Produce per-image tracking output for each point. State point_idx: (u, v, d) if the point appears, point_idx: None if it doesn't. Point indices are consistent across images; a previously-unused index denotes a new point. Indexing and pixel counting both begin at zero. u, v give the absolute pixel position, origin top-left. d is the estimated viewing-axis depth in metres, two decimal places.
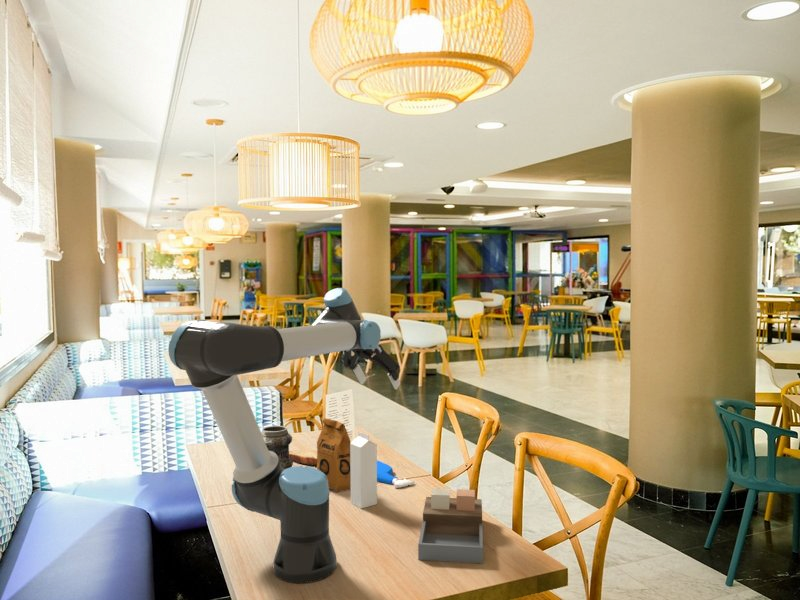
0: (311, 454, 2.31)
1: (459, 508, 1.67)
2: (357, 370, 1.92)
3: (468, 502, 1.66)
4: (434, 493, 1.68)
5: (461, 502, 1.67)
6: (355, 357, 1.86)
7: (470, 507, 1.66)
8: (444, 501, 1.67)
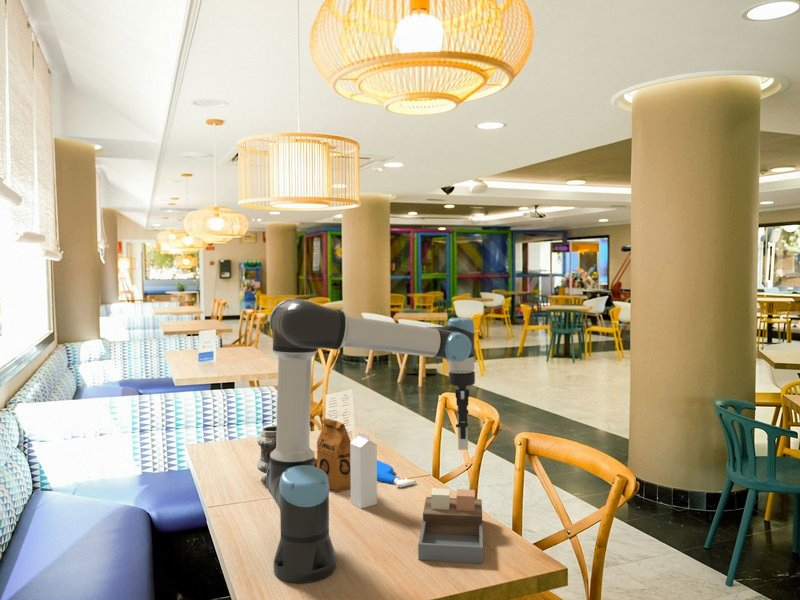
0: None
1: (459, 508, 1.67)
2: None
3: (468, 502, 1.66)
4: (434, 493, 1.68)
5: (461, 502, 1.67)
6: None
7: (470, 507, 1.66)
8: (444, 501, 1.67)
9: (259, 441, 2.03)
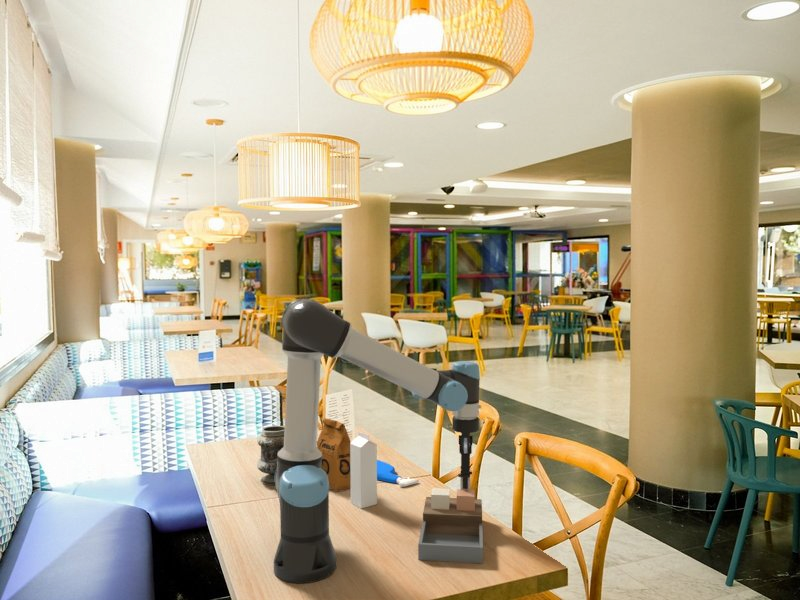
0: None
1: (459, 508, 1.67)
2: None
3: (468, 502, 1.66)
4: (434, 493, 1.68)
5: (461, 502, 1.67)
6: None
7: (470, 507, 1.66)
8: (444, 501, 1.67)
9: (259, 441, 2.03)
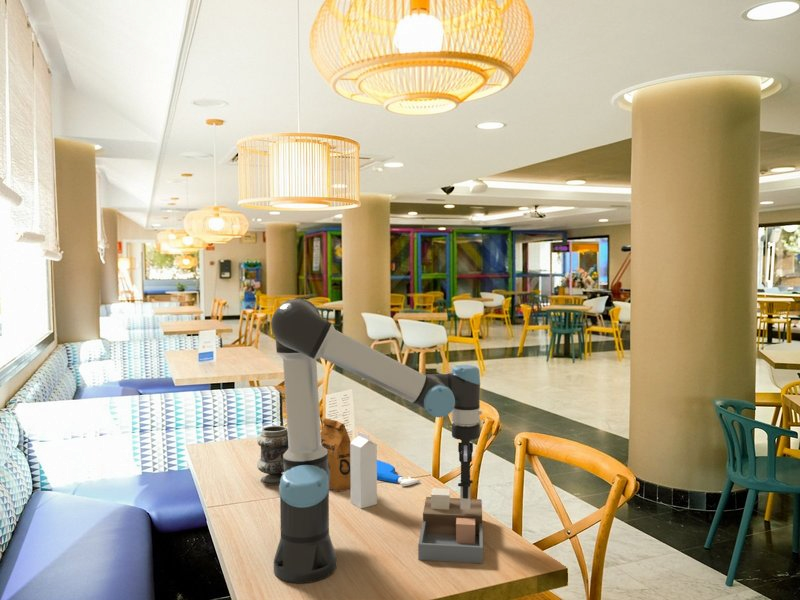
0: None
1: None
2: None
3: None
4: (434, 493, 1.68)
5: None
6: None
7: None
8: (444, 501, 1.67)
9: (259, 441, 2.03)
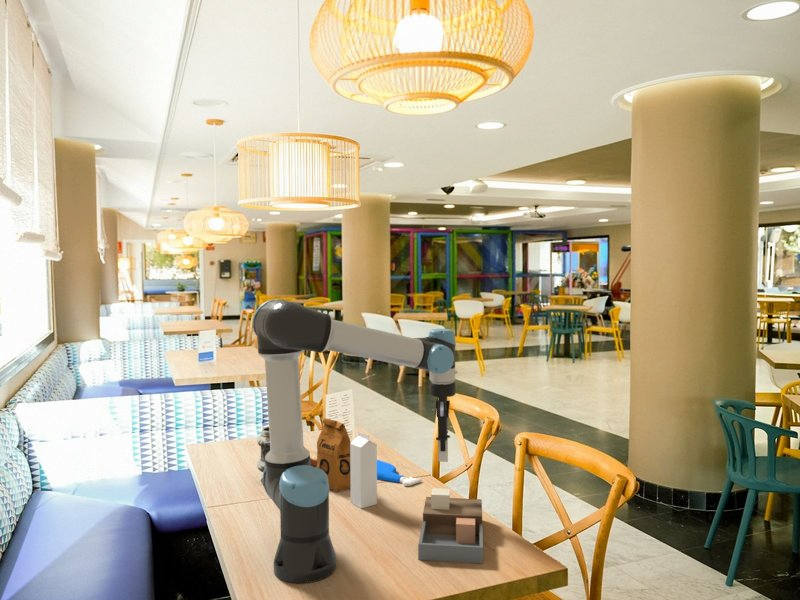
0: None
1: None
2: None
3: None
4: (434, 493, 1.68)
5: None
6: None
7: None
8: (444, 501, 1.67)
9: (259, 441, 2.03)
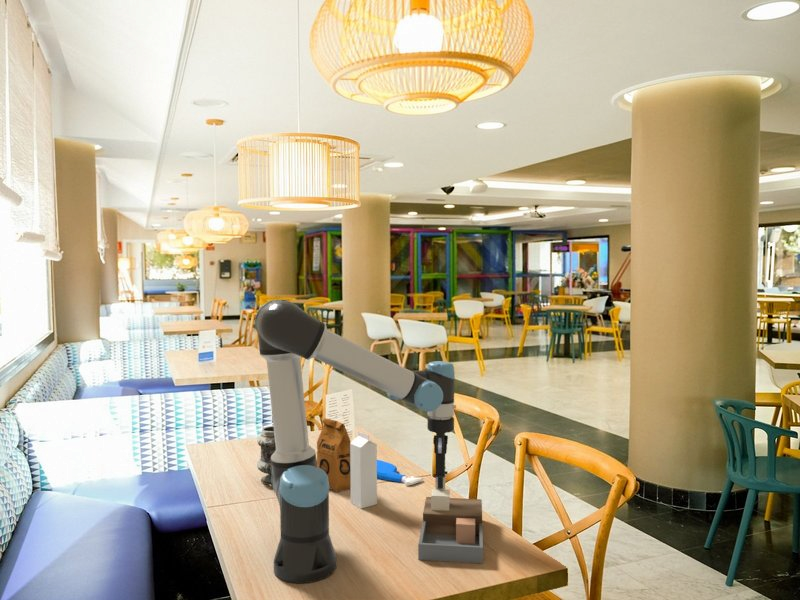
0: None
1: None
2: None
3: None
4: (434, 494, 1.68)
5: None
6: None
7: None
8: (444, 502, 1.66)
9: (259, 441, 2.03)
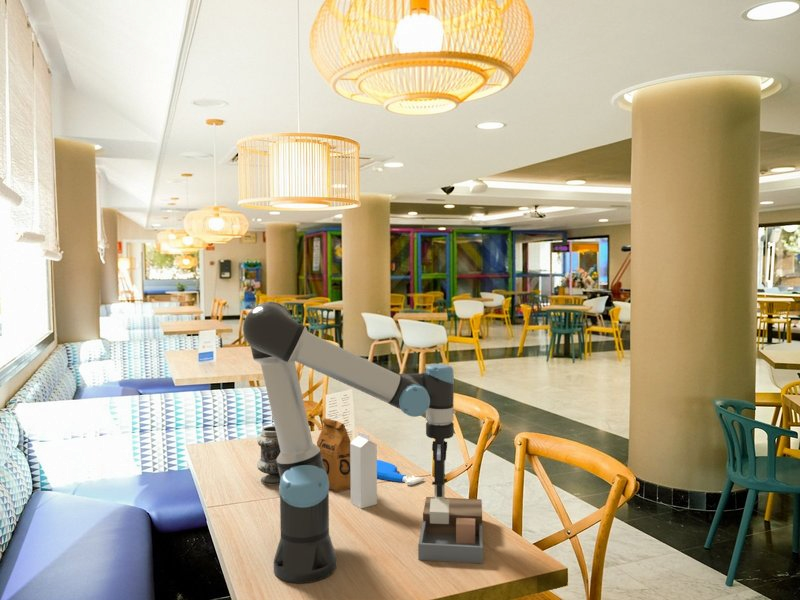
0: None
1: None
2: None
3: None
4: (433, 509, 1.60)
5: None
6: None
7: None
8: (443, 517, 1.60)
9: (259, 441, 2.03)
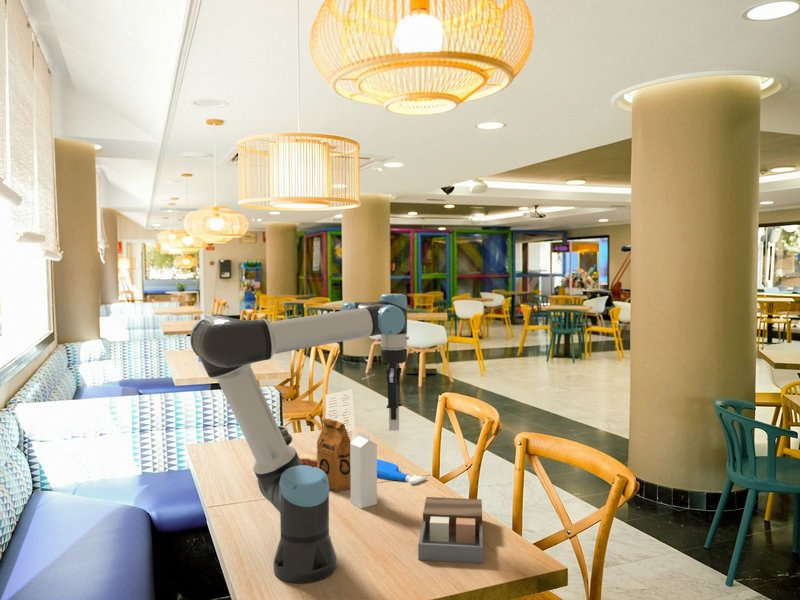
0: (307, 455, 2.29)
1: None
2: None
3: None
4: (432, 537, 1.60)
5: None
6: None
7: None
8: None
9: None
